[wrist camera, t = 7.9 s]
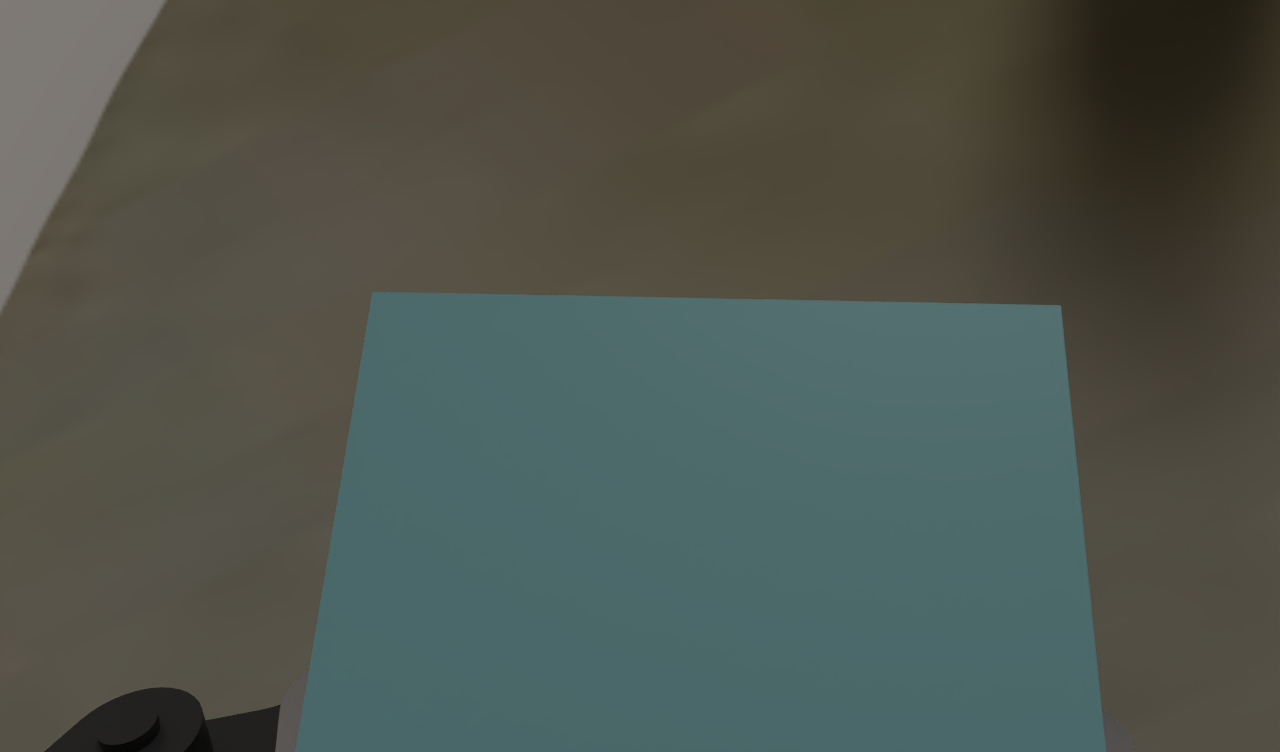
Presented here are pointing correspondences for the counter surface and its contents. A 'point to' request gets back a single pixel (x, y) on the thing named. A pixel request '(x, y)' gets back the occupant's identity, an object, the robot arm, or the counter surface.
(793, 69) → the counter surface
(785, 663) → the tea box
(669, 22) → the counter surface
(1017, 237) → the counter surface
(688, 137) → the counter surface
